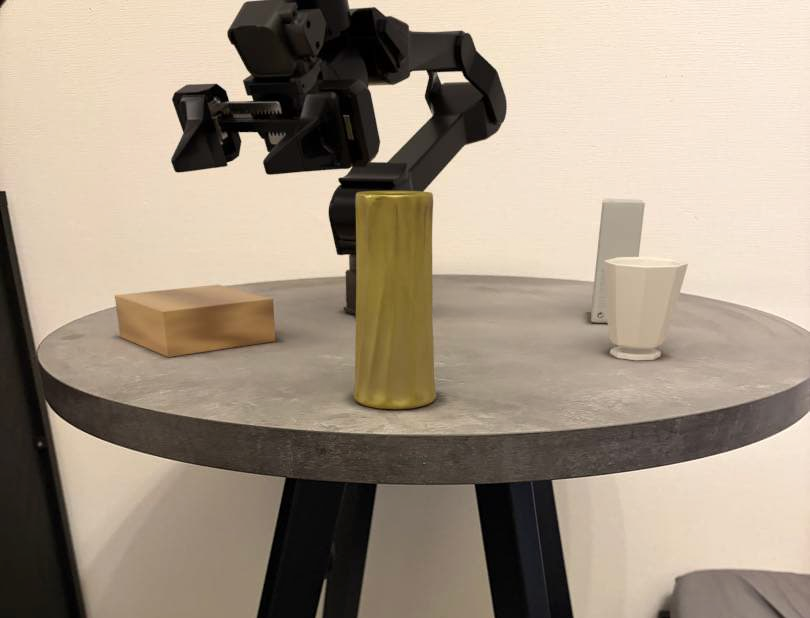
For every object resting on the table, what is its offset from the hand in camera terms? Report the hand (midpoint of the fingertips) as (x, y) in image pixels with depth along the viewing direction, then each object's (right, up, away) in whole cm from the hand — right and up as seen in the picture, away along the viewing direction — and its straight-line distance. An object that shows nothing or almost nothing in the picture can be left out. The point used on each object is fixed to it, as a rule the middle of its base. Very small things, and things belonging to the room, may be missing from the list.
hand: (218, 167), depth 69 cm
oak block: (-5, -10, +15) cm, 19 cm away
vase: (+14, -19, -4) cm, 24 cm away
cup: (+36, -13, +11) cm, 39 cm away
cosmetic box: (+37, -6, +25) cm, 45 cm away
